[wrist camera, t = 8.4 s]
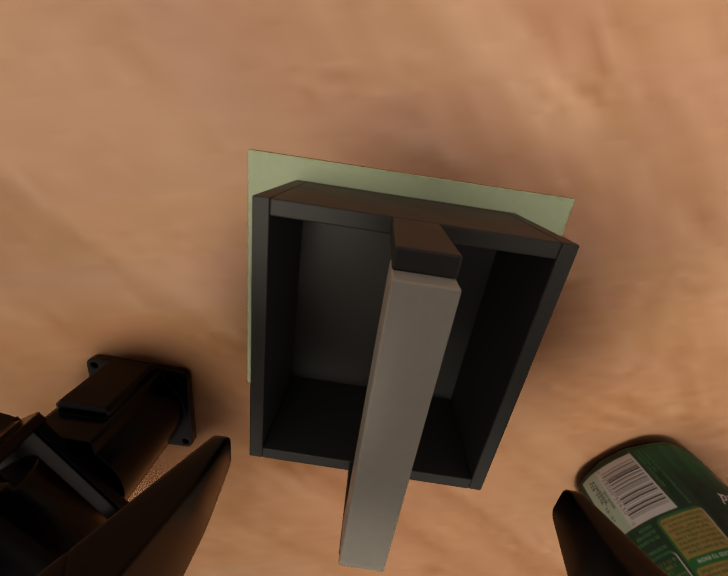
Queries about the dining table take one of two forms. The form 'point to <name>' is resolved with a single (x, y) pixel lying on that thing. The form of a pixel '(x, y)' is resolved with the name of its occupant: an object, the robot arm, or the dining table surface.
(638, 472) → the coffee jar
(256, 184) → the mat
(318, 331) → the bin
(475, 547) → the dining table surface
